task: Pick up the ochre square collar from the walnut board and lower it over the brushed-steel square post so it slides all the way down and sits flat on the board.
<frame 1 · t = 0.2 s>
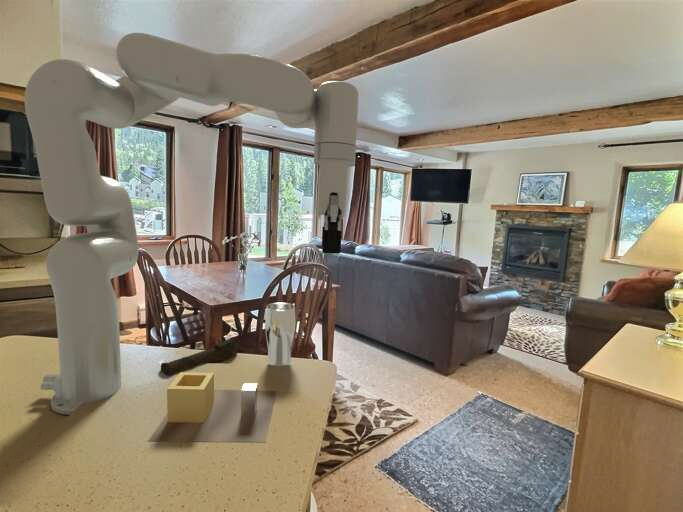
hand: (330, 249, 69), 31 cm above the kitchen counter, fingers open, 9 cm apart
post board: (220, 420, 65), on the kitchen counter
hand tool: (202, 367, 87), on the kitchen counter
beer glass: (279, 367, 88), on the kitchen counter
collar: (191, 412, 65), point 1 cm above the kitchen counter, touching post board
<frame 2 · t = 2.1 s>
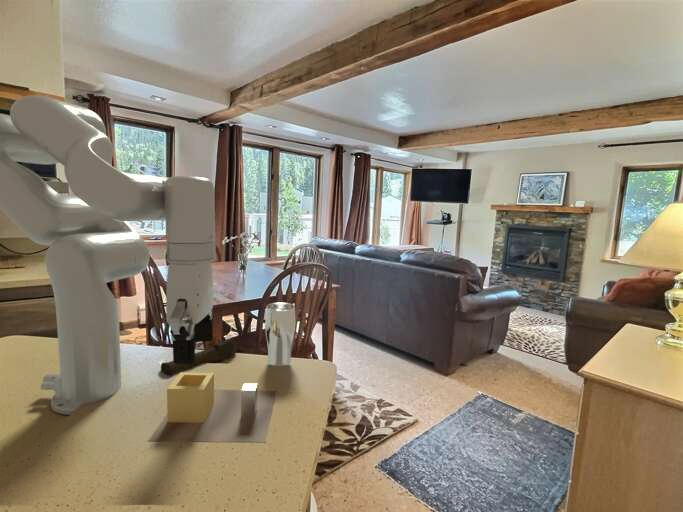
hand: (194, 350, 63), 13 cm above the kitchen counter, fingers open, 9 cm apart
nothing on the kitchen counter moved.
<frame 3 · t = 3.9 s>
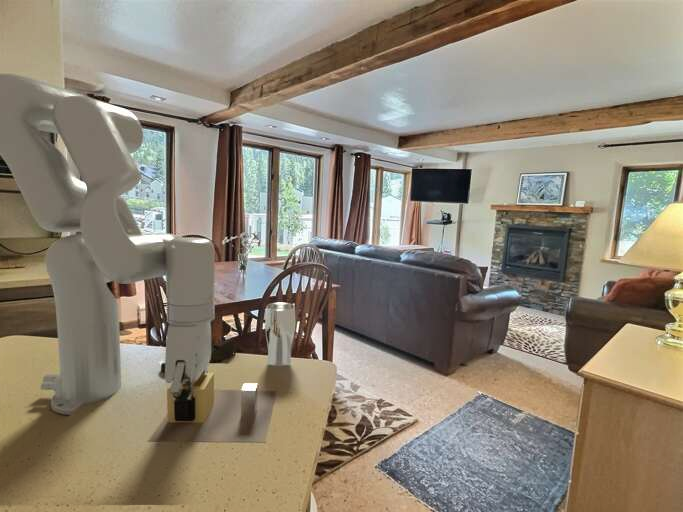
hand: (191, 408, 65), 2 cm above the kitchen counter, fingers closed on collar, 6 cm apart
collar: (191, 412, 65), point 2 cm above the kitchen counter, touching gripper, post board
everything else where it was.
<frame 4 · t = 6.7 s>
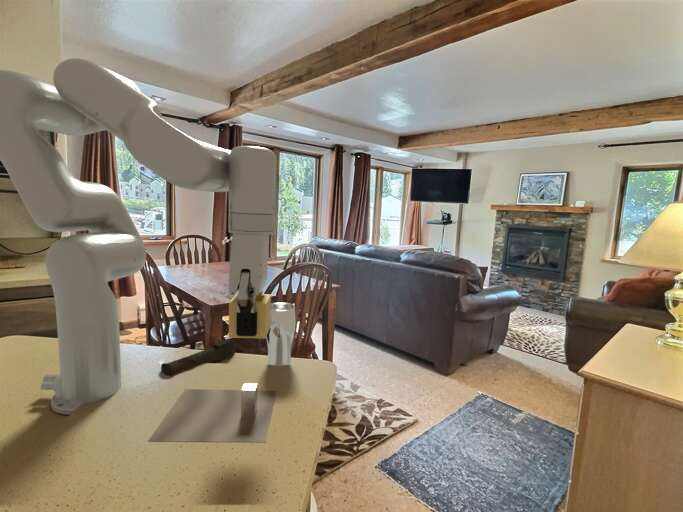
hand: (250, 327, 63), 17 cm above the kitchen counter, fingers closed on collar, 6 cm apart
collar: (250, 331, 63), point 17 cm above the kitchen counter, touching gripper
everything else where it was.
when the fingers open (3 cm above the kitchen counter, at t = 9.7 s): collar stays where it is, resting on post board.
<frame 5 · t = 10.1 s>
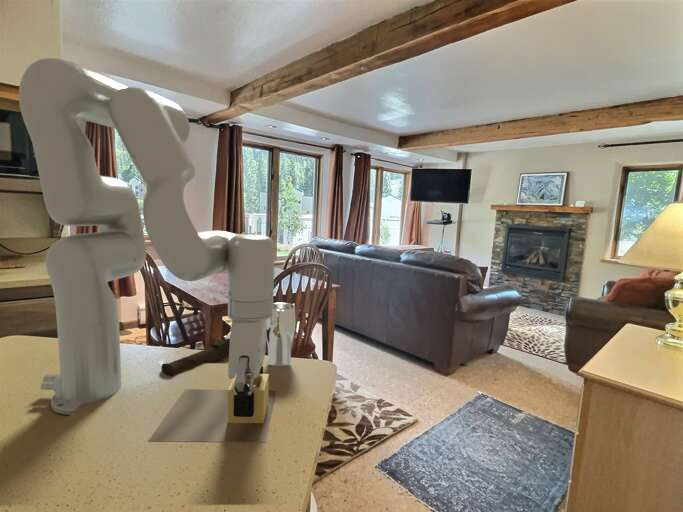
hand: (249, 400, 65), 4 cm above the kitchen counter, fingers open, 9 cm apart
collar: (248, 412, 66), point 1 cm above the kitchen counter, touching post board
everything else where it was.
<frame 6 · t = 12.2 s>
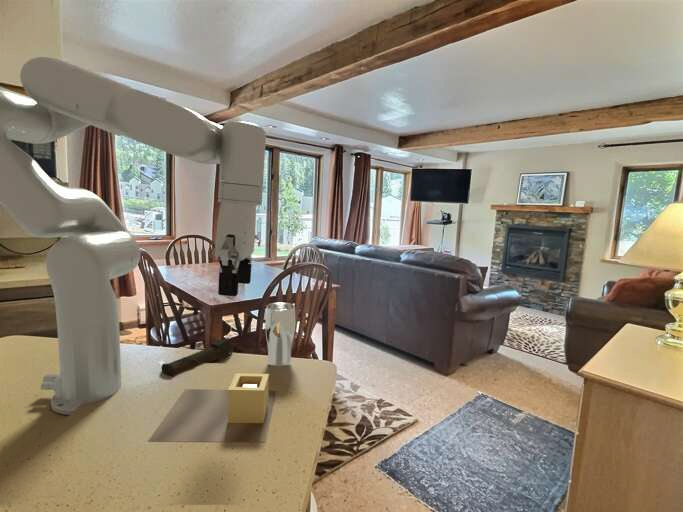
hand: (235, 288, 68), 23 cm above the kitchen counter, fingers open, 9 cm apart
nothing on the kitchen counter moved.
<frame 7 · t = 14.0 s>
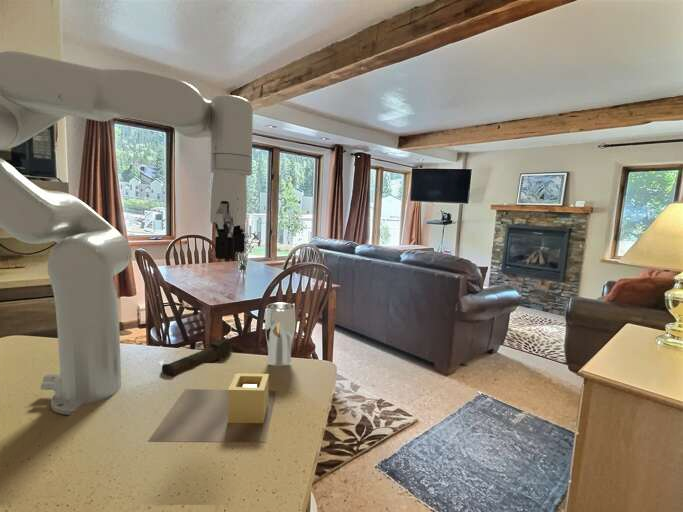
hand: (230, 254, 72), 28 cm above the kitchen counter, fingers open, 9 cm apart
nothing on the kitchen counter moved.
at the end: collar 0.0 cm from the target spot on the post board, point 1.5 cm above the post board's base; collar tilted 0°; the gripper is holding nothing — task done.
